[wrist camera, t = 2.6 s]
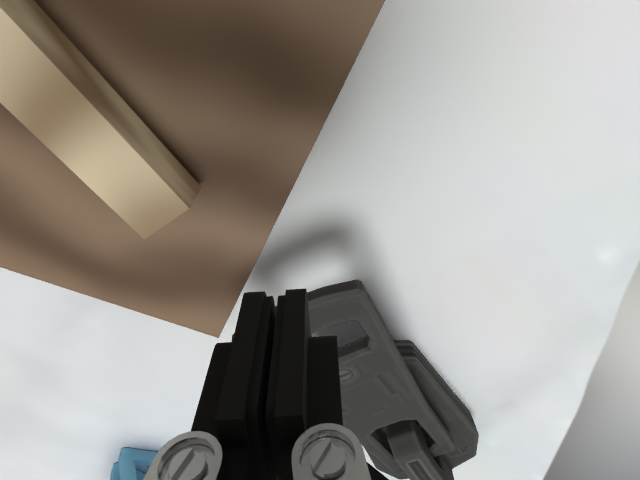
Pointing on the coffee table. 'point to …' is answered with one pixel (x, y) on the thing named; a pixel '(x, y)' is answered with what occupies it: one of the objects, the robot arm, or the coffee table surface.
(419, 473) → the zipper pull
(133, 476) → the chair
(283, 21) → the walnut board
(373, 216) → the coffee table surface
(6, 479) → the coffee table surface
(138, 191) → the link
